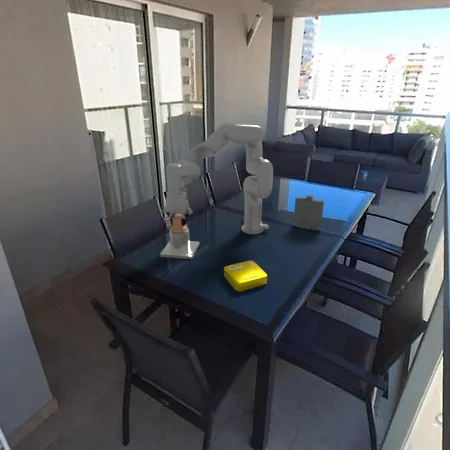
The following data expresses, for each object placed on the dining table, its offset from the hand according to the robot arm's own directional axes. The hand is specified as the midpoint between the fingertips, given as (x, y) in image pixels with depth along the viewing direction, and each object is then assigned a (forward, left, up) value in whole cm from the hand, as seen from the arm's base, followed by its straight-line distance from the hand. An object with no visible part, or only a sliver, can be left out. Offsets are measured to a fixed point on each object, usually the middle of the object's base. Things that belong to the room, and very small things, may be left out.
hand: (178, 224), depth 158 cm
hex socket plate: (0, 0, -14) cm, 14 cm away
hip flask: (-65, -38, -15) cm, 77 cm away
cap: (0, 0, -6) cm, 6 cm away
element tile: (-35, +20, -15) cm, 44 cm away
